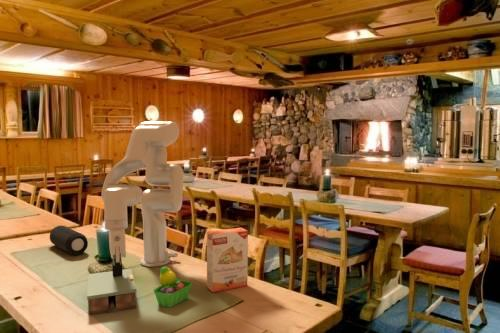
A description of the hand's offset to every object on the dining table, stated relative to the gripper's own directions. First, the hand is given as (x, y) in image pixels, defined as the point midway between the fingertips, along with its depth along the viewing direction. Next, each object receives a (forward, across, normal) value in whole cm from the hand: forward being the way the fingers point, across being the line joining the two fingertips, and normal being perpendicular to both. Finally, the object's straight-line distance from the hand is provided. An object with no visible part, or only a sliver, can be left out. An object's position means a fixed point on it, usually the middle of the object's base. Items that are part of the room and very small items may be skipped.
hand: (117, 275), depth 146 cm
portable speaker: (+6, +62, +19) cm, 66 cm away
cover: (+1, -5, +2) cm, 5 cm away
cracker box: (+6, -8, -38) cm, 39 cm away
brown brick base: (+6, -5, +2) cm, 8 cm away
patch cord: (+5, -6, +2) cm, 8 cm away
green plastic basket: (+7, -13, -17) cm, 22 cm away
